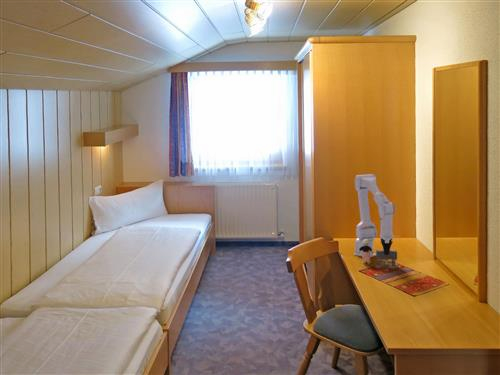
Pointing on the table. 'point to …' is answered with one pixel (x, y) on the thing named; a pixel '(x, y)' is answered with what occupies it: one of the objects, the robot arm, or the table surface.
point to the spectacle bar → (381, 255)
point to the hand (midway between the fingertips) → (386, 253)
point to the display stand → (386, 264)
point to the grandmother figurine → (365, 251)
